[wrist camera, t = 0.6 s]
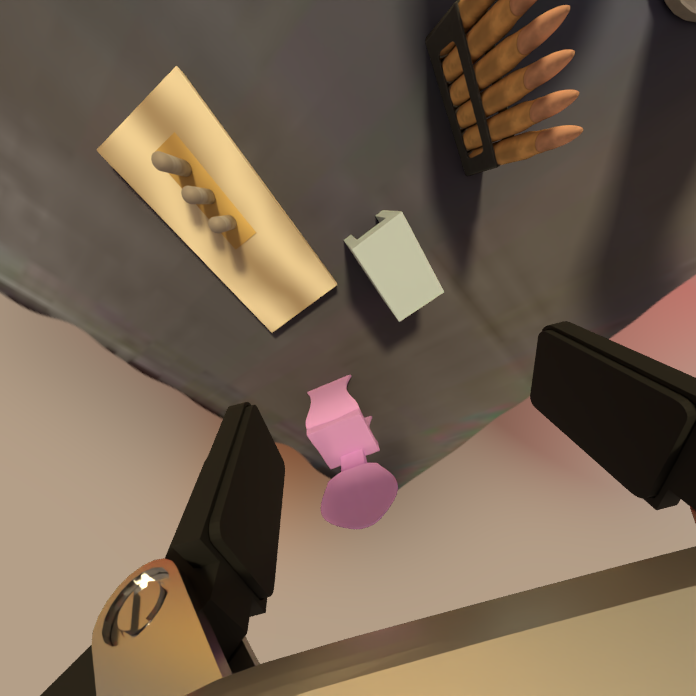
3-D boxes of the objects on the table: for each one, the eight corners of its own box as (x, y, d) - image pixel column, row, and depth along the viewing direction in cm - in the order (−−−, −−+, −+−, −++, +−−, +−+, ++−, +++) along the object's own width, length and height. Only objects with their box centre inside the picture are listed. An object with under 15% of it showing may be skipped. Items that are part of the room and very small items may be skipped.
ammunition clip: (424, 39, 22) (531, -119, 11) (445, 23, 21) (576, -153, 11) (466, 176, 26) (568, 158, 16) (483, 165, 26) (599, 138, 16)
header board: (183, 73, 21) (147, 35, 16) (336, 281, 30) (340, 296, 25) (106, 152, 23) (54, 139, 18) (273, 328, 31) (266, 349, 27)
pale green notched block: (382, 210, 27) (401, 211, 21) (419, 275, 31) (444, 292, 25) (343, 240, 28) (351, 249, 22) (383, 300, 31) (399, 322, 26)
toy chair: (356, 368, 35) (382, 466, 22) (378, 414, 39) (412, 520, 26) (298, 392, 36) (290, 501, 23) (326, 435, 40) (333, 548, 27)
